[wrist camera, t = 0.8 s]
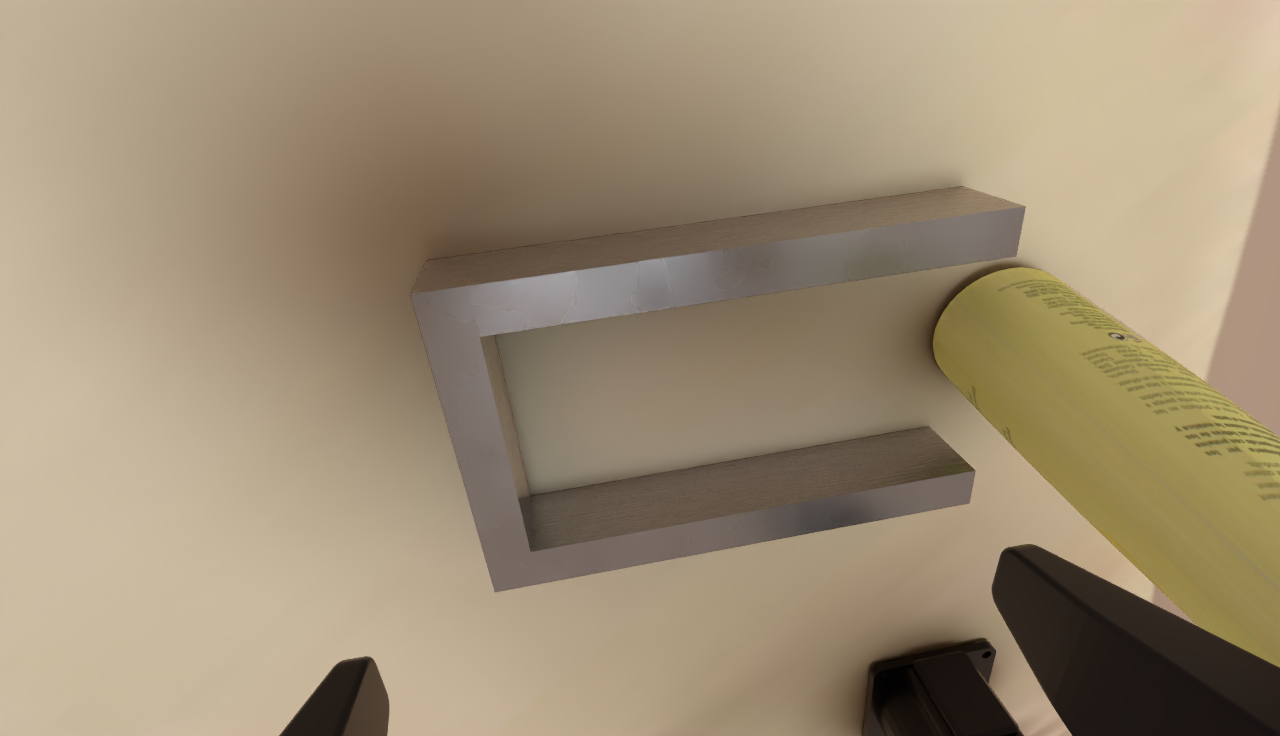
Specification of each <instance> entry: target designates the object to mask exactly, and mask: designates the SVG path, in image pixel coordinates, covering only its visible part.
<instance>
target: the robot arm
mask: <svg viewBox="0 0 1280 736" xmlns="http://www.w3.org/2000/svg"><path fill="white" fill-rule="evenodd" d="M992 595H993V599H994V602H995V604H996V606H997V608H998V610H999V612H1000V614H1001V615H1002V617H1003V619H1004V621H1005V622H1006V624H1007V626H1008V628H1009V630H1010V631H1011V633H1012V635H1013V637H1014V639H1015V640H1016V642H1017V644H1018V646H1019V648H1020V649H1021V651H1022V653H1023V655H1024V657H1025V658H1026V660H1027V662H1028V664H1029V666H1030V667H1031V669H1032V671H1033V673H1034V675H1035V676H1036V678H1037V680H1038V682H1039V684H1040V685H1041V687H1042V689H1043V690H1044V692H1045V694H1046V696H1047V697H1048V699H1049V701H1050V702H1051V704H1052V705H1053V707H1054V709H1055V710H1056V712H1057V713H1058V715H1059V716H1060V718H1061V719H1062V721H1063V722H1064V724H1065V725H1066V727H1067V728H1068V730H1069V731H1070V733H1071V734H1072V736H1280V667H1278V666H1276V665H1274V664H1272V663H1270V662H1268V661H1266V660H1264V659H1262V658H1260V657H1258V656H1256V655H1254V654H1252V653H1250V652H1248V651H1246V650H1244V649H1242V648H1240V647H1238V646H1236V645H1234V644H1232V643H1230V642H1228V641H1226V640H1224V639H1222V638H1220V637H1218V636H1216V635H1214V634H1212V633H1210V632H1208V631H1206V630H1204V629H1202V628H1200V627H1198V626H1196V625H1194V624H1192V623H1190V622H1188V621H1186V620H1184V619H1182V618H1180V617H1178V616H1176V615H1174V614H1172V613H1170V612H1168V611H1166V610H1164V609H1162V608H1160V607H1158V606H1156V605H1154V604H1152V603H1150V602H1148V601H1146V600H1144V599H1142V598H1140V597H1138V596H1136V595H1134V594H1132V593H1130V592H1128V591H1126V590H1124V589H1122V588H1120V587H1118V586H1116V585H1114V584H1112V583H1110V582H1108V581H1106V580H1104V579H1102V578H1100V577H1098V576H1096V575H1094V574H1092V573H1090V572H1088V571H1086V570H1084V569H1083V568H1081V567H1079V566H1077V565H1075V564H1073V563H1071V562H1069V561H1067V560H1065V559H1063V558H1061V557H1059V556H1057V555H1055V554H1053V553H1051V552H1049V551H1047V550H1045V549H1043V548H1041V547H1038V546H1036V545H1032V544H1025V545H1019V546H1013V547H1008V548H1005V549H1004V550H1003V551H1002V553H1001V555H1000V559H999V562H998V566H997V569H996V573H995V577H994V580H993V584H992ZM995 654H996V650H995V649H994V648H993V646H992V645H991V644H990V642H987V641H984V642H979V643H974V644H969V645H964V646H960V647H955V648H950V649H945V650H940V651H936V652H931V653H926V654H921V655H917V656H912V657H907V658H902V659H898V660H893V661H888V662H883V663H879V664H876V665H875V666H873V667H872V668H871V670H870V676H869V684H868V693H867V702H866V711H865V720H864V728H863V736H1024V735H1023V733H1022V732H1021V731H1020V729H1019V727H1018V724H1017V723H1016V722H1015V720H1014V719H1013V717H1012V716H1011V715H1010V713H1009V712H1008V711H1007V709H1006V708H1005V706H1004V705H1003V704H1002V702H1001V701H1000V699H999V698H998V697H997V695H996V694H995V692H994V691H993V690H992V688H991V687H990V686H989V684H988V682H989V678H990V674H991V670H992V666H993V662H994V658H995ZM388 721H389V699H388V694H387V691H386V689H385V686H384V684H383V681H382V678H381V676H380V673H379V671H378V668H377V665H376V663H375V661H374V660H373V659H372V658H371V657H367V656H365V657H359V658H354V659H348V660H343V661H341V662H339V663H338V664H336V665H335V666H334V667H333V668H332V670H331V671H330V672H329V673H328V675H327V676H326V677H325V678H324V680H323V681H322V682H321V684H320V685H319V686H318V687H317V689H316V690H315V691H314V692H313V694H312V695H311V696H310V697H309V699H308V700H307V701H306V702H305V704H304V705H303V706H302V708H301V709H300V710H299V711H298V713H297V714H296V715H295V716H294V718H293V719H292V720H291V721H290V723H289V724H288V725H287V726H286V728H285V729H284V730H283V731H282V733H281V734H280V735H279V736H387V732H388Z"/></svg>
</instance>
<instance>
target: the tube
mask: <svg viewBox="0 0 1280 736" xmlns="http://www.w3.org/2000/svg"><path fill="white" fill-rule="evenodd" d="M933 351H934V356H935V359H936V362H937V364H938V366H939V367H940V369H941V370H942V372H943V373H944V374H945V375H946V376H947V378H948V379H949V380H950V381H951V382H952V383H953V384H954V385H955V386H956V387H957V388H958V389H959V391H960V392H961V393H962V394H963V395H964V396H965V397H966V398H967V399H968V400H969V401H970V402H971V403H972V404H973V405H974V406H975V407H976V409H977V410H978V411H979V412H980V413H981V414H982V415H983V416H984V417H985V418H986V419H987V420H988V421H989V422H990V423H991V424H992V425H993V426H994V427H995V428H996V429H997V430H998V431H999V432H1000V434H1001V435H1002V436H1003V437H1004V438H1005V439H1006V440H1007V441H1008V442H1009V443H1010V444H1011V445H1012V446H1013V447H1014V448H1015V449H1016V450H1017V451H1018V452H1019V453H1020V454H1021V455H1022V456H1023V457H1024V458H1025V459H1026V460H1027V461H1028V462H1029V463H1030V464H1031V465H1032V466H1033V467H1034V468H1035V469H1036V470H1037V471H1038V472H1039V473H1040V474H1041V475H1042V476H1043V477H1044V478H1045V479H1046V480H1047V481H1048V482H1049V483H1050V484H1051V485H1052V486H1053V487H1054V488H1055V489H1056V490H1057V491H1058V492H1059V493H1060V494H1061V495H1062V496H1063V497H1064V498H1065V499H1066V500H1067V501H1068V502H1069V503H1070V504H1071V505H1072V506H1073V507H1074V508H1075V509H1076V510H1077V511H1078V512H1079V513H1080V514H1081V515H1082V516H1083V517H1084V518H1085V519H1087V520H1088V521H1089V522H1090V523H1091V524H1092V525H1093V526H1094V527H1095V528H1096V529H1097V530H1098V531H1099V532H1100V533H1101V534H1102V535H1103V536H1104V537H1105V538H1106V539H1107V540H1108V541H1109V542H1110V543H1111V544H1113V545H1114V546H1115V547H1116V548H1117V549H1118V550H1119V551H1120V552H1121V553H1122V554H1123V555H1124V556H1125V557H1126V558H1127V559H1128V560H1129V561H1130V562H1131V563H1132V564H1133V565H1135V566H1136V567H1137V568H1138V569H1139V570H1140V571H1141V572H1142V573H1143V574H1144V575H1145V576H1146V577H1147V578H1148V579H1149V580H1150V581H1151V582H1152V583H1153V584H1154V585H1156V586H1157V587H1158V588H1159V589H1160V590H1161V591H1162V592H1163V593H1164V594H1165V595H1166V596H1167V597H1168V598H1169V599H1170V600H1171V601H1173V603H1175V604H1176V605H1177V606H1178V607H1179V608H1180V609H1181V610H1182V611H1183V612H1184V613H1185V614H1186V615H1187V616H1188V617H1189V618H1190V619H1191V620H1192V621H1193V622H1195V624H1197V625H1198V626H1199V627H1200V628H1202V629H1204V630H1206V631H1208V632H1210V633H1212V634H1214V635H1216V636H1218V637H1220V638H1222V639H1224V640H1226V641H1228V642H1230V643H1232V644H1234V645H1236V646H1238V647H1240V648H1242V649H1244V650H1246V651H1248V652H1250V653H1252V654H1254V655H1256V656H1258V657H1260V658H1262V659H1264V660H1266V661H1268V662H1270V663H1272V664H1274V665H1276V666H1278V667H1280V438H1279V437H1278V436H1277V435H1275V434H1274V433H1273V432H1271V431H1270V430H1269V429H1267V428H1266V427H1265V426H1263V425H1262V424H1261V423H1260V422H1258V421H1257V420H1256V419H1254V418H1253V417H1252V416H1250V415H1249V414H1247V413H1246V412H1245V411H1243V410H1242V409H1240V407H1238V406H1237V405H1236V404H1234V403H1233V402H1231V401H1230V400H1229V399H1227V398H1226V397H1225V396H1223V395H1222V394H1221V393H1219V392H1218V391H1217V390H1215V389H1214V388H1213V387H1211V386H1210V385H1209V384H1207V383H1206V382H1205V381H1203V380H1202V379H1200V378H1199V377H1198V376H1196V375H1195V374H1193V373H1192V372H1191V371H1189V370H1188V369H1186V368H1185V367H1184V366H1182V365H1181V364H1179V363H1178V362H1177V361H1175V360H1174V359H1173V358H1171V357H1170V356H1168V355H1167V354H1166V353H1164V352H1163V351H1161V350H1160V349H1159V348H1157V347H1156V346H1154V345H1153V344H1152V343H1150V342H1149V341H1147V340H1146V339H1145V338H1143V337H1142V336H1140V335H1139V334H1137V333H1136V332H1135V331H1133V330H1132V329H1130V328H1129V327H1128V326H1126V325H1125V324H1123V323H1122V322H1120V321H1119V320H1118V319H1116V318H1115V317H1113V316H1112V315H1110V314H1109V313H1107V312H1106V311H1104V310H1103V309H1101V308H1100V307H1098V306H1097V305H1096V304H1094V303H1093V302H1092V301H1090V300H1089V299H1087V298H1086V297H1084V296H1083V295H1081V294H1080V293H1078V292H1077V291H1076V290H1074V289H1073V288H1071V287H1070V286H1068V285H1067V284H1065V283H1064V282H1062V281H1060V280H1059V279H1057V278H1056V277H1054V276H1052V275H1051V274H1049V273H1046V272H1044V271H1041V270H1037V269H1034V268H1023V267H1019V268H1010V269H1005V270H1000V271H997V272H994V273H991V274H989V275H986V276H984V277H982V278H980V279H978V280H976V281H975V282H973V283H972V284H970V285H969V286H967V287H966V288H965V289H963V290H962V291H961V292H960V293H959V294H958V295H956V297H955V298H954V299H953V300H952V301H951V302H950V303H949V305H948V306H947V308H946V309H945V310H944V312H943V313H942V315H941V317H940V319H939V321H938V323H937V326H936V329H935V332H934V338H933Z"/></svg>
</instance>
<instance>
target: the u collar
mask: <svg viewBox="0 0 1280 736" xmlns="http://www.w3.org/2000/svg"><path fill="white" fill-rule="evenodd" d="M1025 208H1026V206H1023V205H1020V204H1016V203H1013V202H1010V201H1007V200H1004V199H1001V198H998V197H995V196H991V195H988V194H985V193H982V192H979V191H976V190H973V189H969V188H966V187H963V186H962V187H955V188H947V189H940V190H933V191H926V192H918V193H911V194H904V195H897V196H889V197H882V198H875V199H868V200H860V201H853V202H846V203H839V204H831V205H824V206H817V207H810V208H802V209H795V210H788V211H781V212H773V213H766V214H759V215H752V216H744V217H737V218H730V219H723V220H715V221H708V222H701V223H693V224H686V225H679V226H672V227H664V228H657V229H650V230H643V231H635V232H628V233H621V234H614V235H606V236H599V237H592V238H585V239H577V240H570V241H563V242H556V243H548V244H541V245H534V246H527V247H519V248H512V249H505V250H498V251H490V252H483V253H476V254H469V255H461V256H454V257H447V258H440V259H432V260H427V261H426V263H425V265H424V267H423V269H422V271H421V273H420V275H419V277H418V279H417V281H416V283H415V285H414V287H413V289H412V291H411V293H410V296H411V299H412V303H413V306H414V310H415V313H416V317H417V320H418V324H419V327H420V331H421V334H422V338H423V341H424V345H425V348H426V352H427V355H428V359H429V362H430V366H431V369H432V373H433V376H434V380H435V383H436V387H437V390H438V394H439V398H440V401H441V405H442V408H443V412H444V415H445V419H446V422H447V426H448V429H449V433H450V436H451V440H452V443H453V447H454V450H455V454H456V457H457V461H458V464H459V468H460V471H461V475H462V478H463V482H464V485H465V489H466V492H467V496H468V500H469V503H470V507H471V510H472V514H473V517H474V521H475V524H476V528H477V531H478V535H479V538H480V542H481V545H482V549H483V552H484V556H485V559H486V563H487V566H488V570H489V573H490V577H491V580H492V584H493V587H494V591H495V592H499V591H505V590H510V589H515V588H521V587H526V586H531V585H537V584H542V583H547V582H553V581H558V580H563V579H569V578H574V577H579V576H585V575H590V574H595V573H601V572H606V571H611V570H616V569H622V568H627V567H632V566H638V565H643V564H648V563H654V562H659V561H664V560H670V559H675V558H680V557H686V556H691V555H696V554H702V553H707V552H712V551H718V550H723V549H728V548H734V547H739V546H744V545H750V544H755V543H760V542H766V541H771V540H776V539H782V538H787V537H792V536H798V535H803V534H808V533H814V532H819V531H824V530H830V529H835V528H840V527H846V526H851V525H856V524H862V523H867V522H872V521H878V520H883V519H888V518H894V517H899V516H904V515H910V514H915V513H920V512H926V511H931V510H936V509H941V508H947V507H952V506H957V505H963V504H968V503H970V498H971V492H972V487H973V482H974V477H975V470H974V469H973V468H972V467H971V466H970V465H969V464H968V463H967V462H966V461H965V460H964V459H963V458H962V457H961V456H960V455H959V454H957V453H956V452H955V451H954V450H953V449H952V448H951V447H950V446H949V445H948V444H947V443H946V442H945V441H944V440H943V439H942V438H941V437H940V436H939V435H937V434H936V433H935V432H934V431H933V430H932V429H931V428H930V427H923V428H917V429H912V430H906V431H900V432H894V433H889V434H883V435H877V436H871V437H866V438H860V439H854V440H848V441H843V442H837V443H831V444H826V445H820V446H814V447H808V448H803V449H797V450H791V451H785V452H780V453H774V454H768V455H763V456H757V457H751V458H745V459H740V460H734V461H728V462H722V463H717V464H711V465H705V466H700V467H694V468H688V469H682V470H677V471H671V472H665V473H659V474H654V475H648V476H642V477H636V478H631V479H625V480H619V481H614V482H608V483H602V484H596V485H591V486H585V487H579V488H573V489H568V490H562V491H556V492H551V493H545V494H539V495H533V496H531V495H530V491H529V486H528V482H527V477H526V473H525V469H524V464H523V460H522V455H521V451H520V446H519V442H518V437H517V433H516V429H515V424H514V420H513V415H512V411H511V406H510V402H509V397H508V393H507V389H506V384H505V380H504V375H503V371H502V366H501V362H500V357H499V353H498V348H497V344H496V340H495V335H496V334H502V333H509V332H516V331H522V330H529V329H536V328H542V327H549V326H556V325H562V324H569V323H576V322H582V321H589V320H596V319H602V318H609V317H616V316H622V315H629V314H636V313H642V312H649V311H656V310H662V309H669V308H676V307H682V306H689V305H696V304H702V303H709V302H716V301H722V300H729V299H736V298H742V297H749V296H756V295H762V294H769V293H776V292H782V291H789V290H796V289H802V288H809V287H816V286H822V285H829V284H836V283H842V282H849V281H856V280H862V279H869V278H876V277H882V276H889V275H896V274H902V273H909V272H916V271H922V270H929V269H936V268H942V267H949V266H956V265H962V264H969V263H976V262H982V261H989V260H996V259H1002V258H1009V257H1016V255H1017V250H1018V244H1019V239H1020V234H1021V229H1022V223H1023V218H1024V213H1025Z"/></svg>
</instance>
